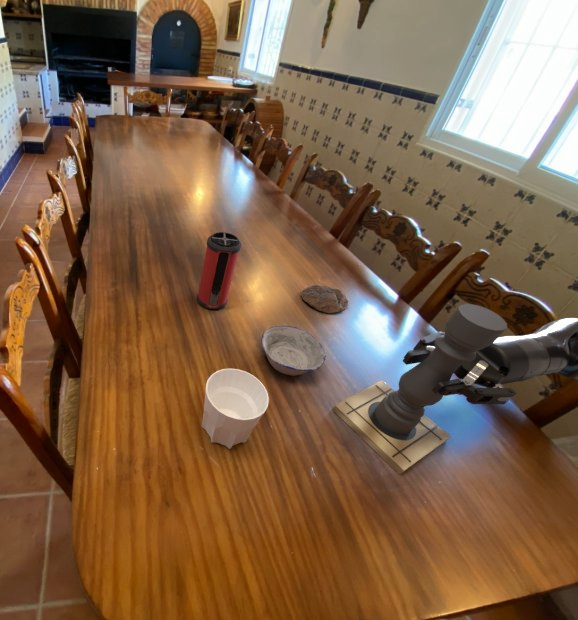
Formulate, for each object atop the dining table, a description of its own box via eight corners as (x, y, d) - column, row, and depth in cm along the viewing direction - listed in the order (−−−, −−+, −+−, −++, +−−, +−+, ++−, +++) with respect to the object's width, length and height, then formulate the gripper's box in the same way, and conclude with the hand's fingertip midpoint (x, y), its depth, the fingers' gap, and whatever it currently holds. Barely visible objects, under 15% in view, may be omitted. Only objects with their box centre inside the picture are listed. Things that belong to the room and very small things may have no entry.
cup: (248, 462, 59) (264, 428, 52) (190, 440, 61) (199, 406, 55) (256, 413, 66) (271, 379, 60) (204, 396, 68) (213, 361, 62)
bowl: (307, 342, 82) (315, 326, 79) (326, 387, 72) (335, 371, 69) (251, 337, 82) (257, 322, 79) (262, 382, 72) (269, 366, 69)
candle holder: (366, 409, 67) (446, 305, 51) (392, 402, 68) (477, 300, 52) (392, 438, 62) (488, 335, 46) (419, 430, 64) (520, 328, 48)
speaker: (196, 308, 89) (208, 245, 77) (196, 290, 95) (207, 228, 83) (227, 312, 88) (243, 248, 77) (225, 293, 94) (240, 232, 83)
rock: (294, 288, 99) (297, 281, 97) (335, 288, 100) (338, 281, 98) (310, 314, 90) (313, 306, 89) (354, 314, 91) (358, 306, 89)
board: (446, 440, 64) (451, 436, 63) (399, 475, 59) (404, 470, 58) (377, 384, 74) (381, 379, 73) (331, 409, 68) (335, 404, 67)
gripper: (478, 315, 62) (399, 325, 59) (567, 378, 52) (477, 395, 48) (452, 345, 67) (378, 356, 64) (529, 409, 57) (444, 426, 53)
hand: (421, 373), depth 56 cm, fingers open, 5 cm apart
